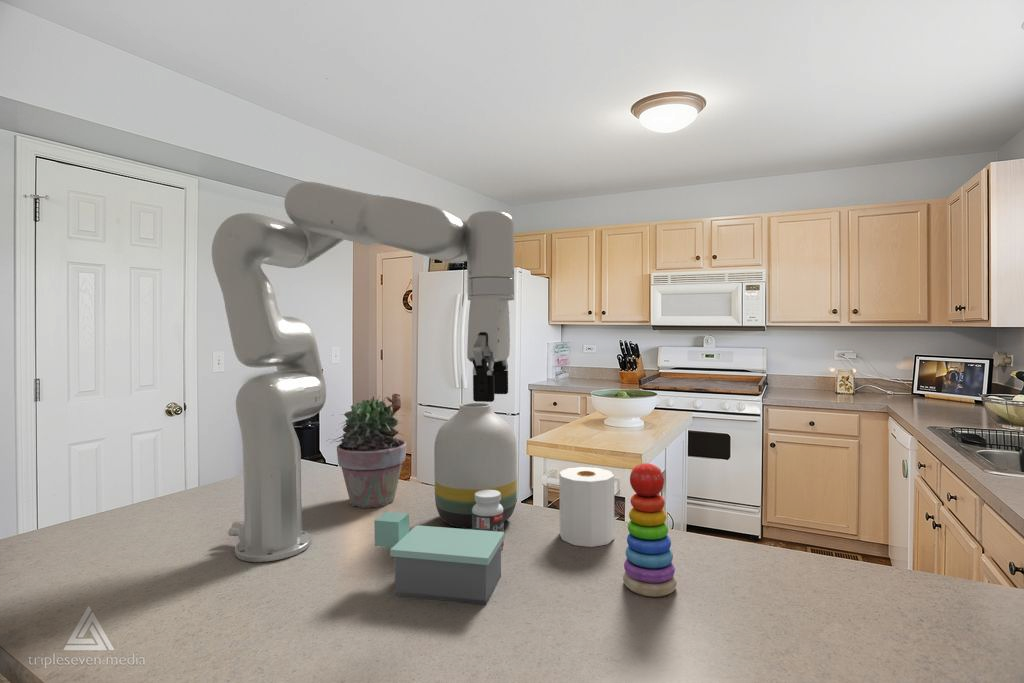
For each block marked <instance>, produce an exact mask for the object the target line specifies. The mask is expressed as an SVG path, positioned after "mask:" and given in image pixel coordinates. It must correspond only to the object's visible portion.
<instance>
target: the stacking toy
mask: <svg viewBox="0 0 1024 683" xmlns="http://www.w3.org/2000/svg"><path fill="white" fill-rule="evenodd" d="M629 484H630V487H631V488H632V490H633V491H634V492H635V493H634V494H633V495H632V496H631V498H630V505H631V507H632V508H631V509H630V510H629V512H628V517H629V519H630V521H629V522H628V523H627V530H628V532H629V533H628V535H627V536H626V542H627V546H626V548H625V557H626V558H625V559H624V563H623V568H624V572H623V576H622V580H623V583H624V585H625V586H626V588H627V589H628V590H630V591H632V592H633V593H636V594H638V595H641V596H645V597H654V598H656V597H664V596H666V595H670V594H671V593H673V592H674V591H675V589H676V588H677V579H676V576H675V572H676V570H675V565H674V564H673V558H674V554H673V552H672V549H671V545H672V540H671V538H670V536H669V535H668V533H669V527H668V525H667V523H666V520H667V514H666V511H665V510H664V509H663V508H664V507H665V499H664V497H663V496H662V495H661V494H660V492H661V491H662V490H663V488H664V485H665V478H664V474H663V473H662V471H661V469H660V468H659V467H657V466H656V465H655V464H652V463H647V462H644V463H640V464H637V465H636V466H634V468H633V469H632V471H631V473H630V476H629Z"/></svg>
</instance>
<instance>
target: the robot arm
mask: <svg viewBox="0 0 1024 683" xmlns="http://www.w3.org/2000/svg"><path fill="white" fill-rule="evenodd" d="M283 205H284V210H285V213H286V215H287V217H288V218H289V219H290V221H291V222H292V223H291V222H286V221H283V220H280V219H277V218H274V217H272V216H271V217H270V216H267V215H263V214H259V213H254V212H253V213H252V212H251V213H250V212H241V213H236V214H234V215H231V216H229V217H227V218H226V219H225V220H224V221H223V222H221V224H220V225H219V227H218V228H217V229H216V231H215V234H214V236H213V239H212V244H211V260H212V265H213V270H214V273H215V276H216V277H217V278H216V279H217V281H218V283H219V284H218V285H219V287H220V289H221V294H222V297H223V302H224V307H225V313H226V317H227V318H226V319H227V323H228V328H229V332H230V337H231V342H232V345H233V346H232V347H233V350H234V354H235V356H236V358H237V359H238V360H237V361H239V362H240V363H241V364H242V365H243V366H244V367H245V366H246V367H249V368H254V369H255V368H257V369H261V368H271V367H272V368H274V367H276V370H277V372H275V373H266V374H261V375H258V376H255V377H253V378H250V379H248V380H247V381H246V382H245V383H243V384H242V385H241V387H240V388H239V389H238V392H237V395H236V399H235V411H236V415H237V420H238V424H239V428H240V434H241V443H242V466H243V470H242V472H243V510H244V511H243V515H244V517H243V520H244V521H243V520H235V521H233V522H232V524H231V527H230V528H229V529H228V530H227V531H228V532H227V534H228V536H231V537H238V539H239V542H238V543H237V544H236V545H235V548H234V555H235V557H236V558H238V559H240V560H242V561H245V562H251V563H264V562H265V563H266V562H271V561H272V562H274V561H279V560H283V559H287V558H290V557H293V556H296V555H298V554H301V553H303V552H304V551H305V550H307V549H308V548H309V547H310V545H311V544H312V536H311V534H310V533H309V532H307V531H305V530H303V518H302V516H303V514H302V513H303V512H302V511H303V510H302V505H303V503H302V501H303V500H302V459H301V458H302V453H301V445H300V440H299V438H298V435H297V432H296V431H295V430H296V429H295V428H294V426H293V423H296V422H299V421H303V420H306V419H309V418H311V417H312V418H313V417H314V416H316V415H317V414H319V413H320V412H321V410H322V409H323V408H324V406H325V403H326V400H327V388H326V380H325V376H324V372H323V366H322V362H321V358H320V352H319V349H318V348H319V347H318V344H317V340H316V337H315V335H314V333H313V331H312V329H311V327H310V326H309V325H308V324H307V323H306V322H304V321H303V320H302V319H299V318H297V317H294V316H282V315H281V313H280V310H279V307H278V303H277V298H276V297H277V296H276V293H275V289H274V287H273V285H272V283H271V281H270V279H269V278H268V277H267V274H265V272H264V271H263V269H262V267H261V266H262V264H263V265H268V266H275V267H280V268H285V269H296V268H301V267H304V266H306V265H307V264H310V263H311V262H313V261H315V260H316V259H317V258H319V257H321V256H322V255H324V254H325V253H327V252H328V251H330V250H332V249H334V247H336V246H338V245H339V244H341V243H342V242H343V241H349V242H353V243H357V244H360V245H364V246H372V245H373V244H377V245H382V246H387V247H391V248H396V249H398V250H404V251H406V252H411V253H414V254H419V255H422V256H425V257H429V258H432V259H435V260H438V261H440V262H444V263H448V264H458V263H462V262H467V263H466V264H467V266H466V267H467V268H466V272H467V273H466V274H467V275H466V277H467V283H466V284H467V286H466V287H467V301H470V303H469V307H468V308H469V309H468V310H469V311H468V321H467V322H468V324H467V344H466V345H467V347H466V349H467V350H466V353H467V354H466V355H467V356H466V357H467V360H468V361H469V362H470V363H472V364H473V368H472V400H473V401H474V403H491V402H495V395H507V394H508V393H509V370H508V369H509V365H508V358H509V357H510V349H511V339H510V338H511V335H510V334H511V333H510V331H511V330H510V329H511V328H510V327H511V326H510V309H509V307H510V306H509V301H515V225H514V224H515V223H514V219H513V218H512V216H511V215H510V214H509V213H506V212H504V211H497V210H482V211H478V212H473V213H472V214H470V215H469V217H468V219H463V218H460V217H457V216H456V215H454V214H451V213H450V212H449V211H446V210H443V208H440V207H437V206H434V205H429V204H425V203H421V202H418V201H417V202H416V201H413V200H412V201H411V200H407V199H402V198H397V197H393V196H387V195H386V196H385V195H384V196H383V195H379V194H372V193H366V192H363V191H356V190H353V189H352V190H351V189H349V188H344V187H343V188H342V187H339V186H335V185H330V184H326V183H320V182H316V181H302V182H299V183H296V184H294V185H293V186H292V187H291V188H289V190H288V191H287V193H286V194H285V198H284V204H283Z"/></svg>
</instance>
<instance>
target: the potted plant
mask: <svg viewBox="0 0 1024 683" xmlns="http://www.w3.org/2000/svg"><path fill="white" fill-rule="evenodd" d="M379 398H381V396H378V398H377V399H376V398H375V396H374V395H373V396H372V398H370V400H369V399H367V400H366V399H363V400H361V402H360V401H357V402H356V405H354V404H352V405H351V406H350V409H351V411H347V412H345V413H343V414H340V415H341V416H343V415H344V417H345V418H347V419H345V421H342V422H341V423H339V425H341V424H344V425H342V426H341V427H340V428H339V429H342V430H343V432H344V433H342V435H341V436H339V437H337V438H336V439H332V438H331V439H330V438H328V439H327V440H326V441H328V440H331V441H330V444H331V443H335V442H337V443H339V444H337V446H336V454H337V464H338V466H339V467H340V468H341V472H342V475H343V478H344V480H343V481H344V483H345V487H346V491H347V494H348V499H349V504H350V505H351V504H352V506H353V507H355V506H357V507H356V508H360V507H363V508H362V509H367V508H366V507H376V508H380V507H379V506H381V507H383V506H384V505H385V506H388V505H389V503H390V504H391V502H392V503H393V502H394V500H395V497H396V493H397V489H398V484H399V480H400V475H401V471H402V467H403V463H405V460H406V456H407V455H406V453H407V442H406V441H405V440H403V439H400V438H397V437H395V436H396V435H398V434H399V435H402V436H405V434H402V433H400V432H399V430H397V429H396V427H397V425H398V424H399V421H398V419H397V418H395V417H394V416H395V415H396V413H397V412H398V411H399V410H400V409H401V407H402V402H401V395H400V394H399V393H393V394H392V395H391V397H390V396H386V397H384V398H383V400H380V401H379ZM385 400H386V401H388V402H389V403H391V404H390V405H388V406H387V405H386V402H385ZM330 416H333V414H331V415H330ZM402 416H405V417H406V415H402ZM401 424H402V425H403V423H402V422H401ZM339 429H337V431H338V430H339ZM331 435H333V433H332V434H331ZM331 435H330V436H331ZM338 439H340V440H338ZM340 442H341V443H340ZM387 504H388V505H387ZM385 506H384V507H385Z"/></svg>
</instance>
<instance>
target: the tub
mask: <svg viewBox="0 0 1024 683" xmlns="http://www.w3.org/2000/svg"><path fill="white" fill-rule="evenodd" d="M501 578H502V549H501V545H500V547H499V548H498V550H497V552H496V553H495V555H494V557H493V558H492V560H491V562H490V563H489V565H481V564H470V563H459V562H448V561H437V560H426V559H415V558H404V557H394V584H395V585H394V587H395V588H394V591H395V592H394V593H395V594H394V595H395V596H400V597H410V598H418V599H419V598H420V599H427V600H437V601H438V600H439V601H447V602H455V603H465V604H474V605H483V606H487V604H488V602H489V601H490V598H491V597H492V595H493V593H494V591H495V589H496V587H497V585H498V583H499V581H500V579H501Z"/></svg>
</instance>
